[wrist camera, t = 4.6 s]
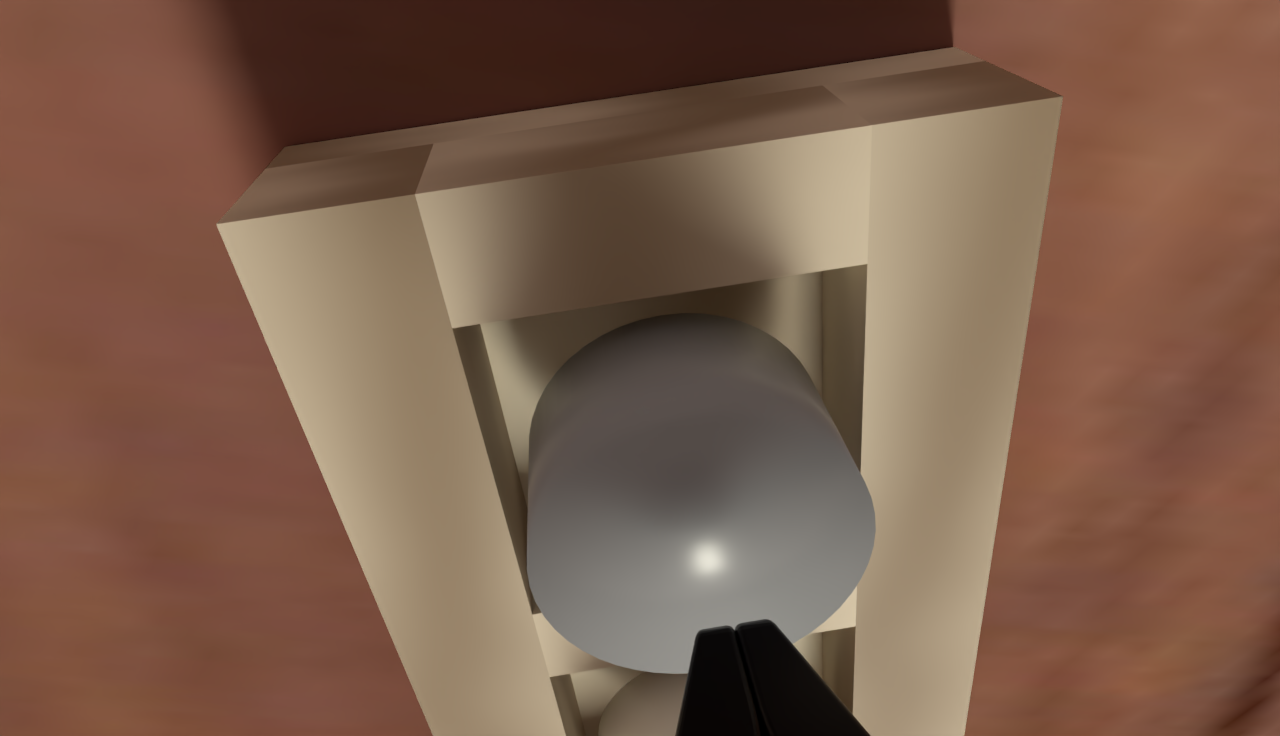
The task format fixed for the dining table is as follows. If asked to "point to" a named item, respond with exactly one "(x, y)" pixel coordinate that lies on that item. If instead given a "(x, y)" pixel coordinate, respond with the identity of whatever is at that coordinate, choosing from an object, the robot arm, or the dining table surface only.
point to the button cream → (645, 706)
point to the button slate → (688, 492)
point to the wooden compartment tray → (647, 287)
